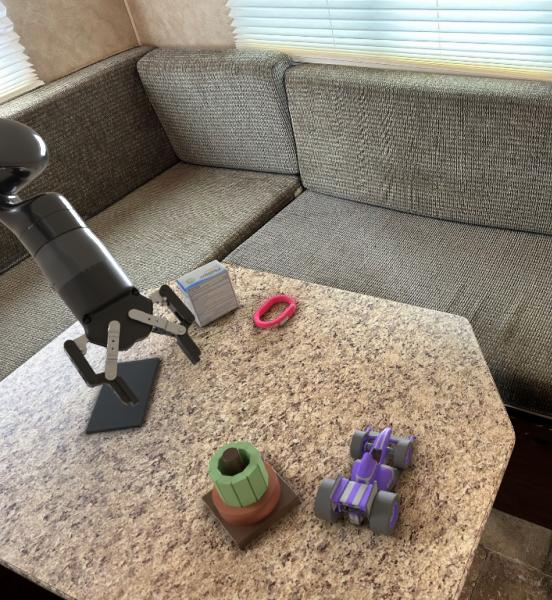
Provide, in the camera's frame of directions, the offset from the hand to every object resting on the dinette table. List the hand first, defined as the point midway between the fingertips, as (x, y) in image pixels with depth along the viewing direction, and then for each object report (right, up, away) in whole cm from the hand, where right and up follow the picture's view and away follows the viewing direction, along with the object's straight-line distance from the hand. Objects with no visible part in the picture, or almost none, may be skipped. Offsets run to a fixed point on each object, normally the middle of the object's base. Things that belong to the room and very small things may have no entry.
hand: (168, 382), depth 74 cm
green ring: (+9, -13, +1) cm, 16 cm away
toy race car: (+25, -14, +5) cm, 29 cm away
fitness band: (+6, +7, +33) cm, 34 cm away
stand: (+9, -16, +4) cm, 19 cm away
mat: (-15, -5, +21) cm, 26 cm away
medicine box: (-5, +8, +35) cm, 36 cm away
